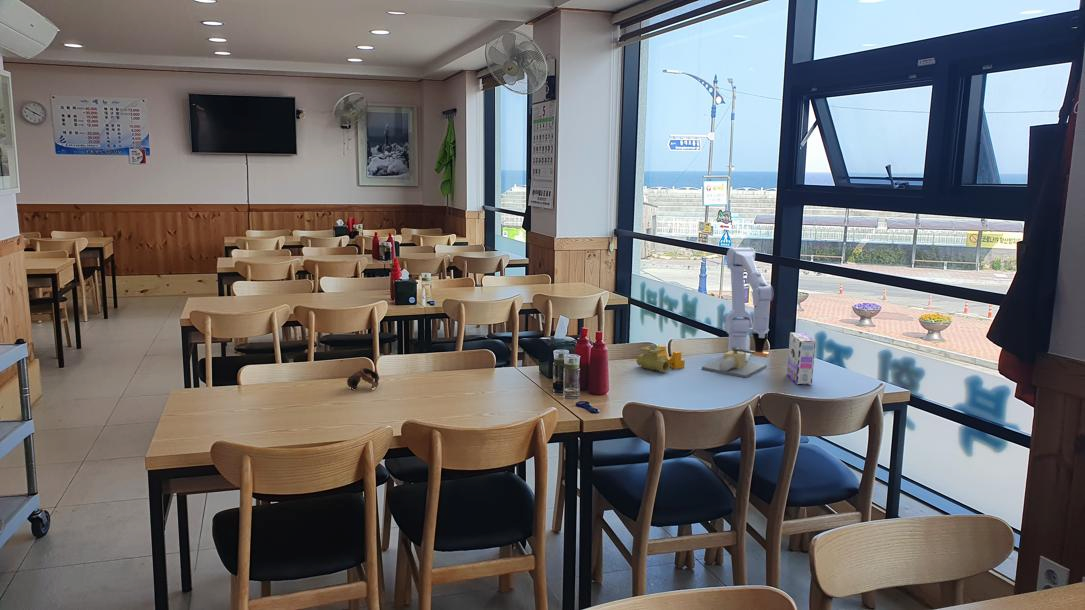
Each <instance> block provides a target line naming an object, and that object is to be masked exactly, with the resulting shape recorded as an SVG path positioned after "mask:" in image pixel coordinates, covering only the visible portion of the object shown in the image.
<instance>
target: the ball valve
mask: <svg viewBox="0 0 1085 610" xmlns="http://www.w3.org/2000/svg"><path fill="white" fill-rule="evenodd" d="M640 350H641V351H643V352H647V353H640V354H638V355H637V359H636V364H637V365H638V366H640V367H641V368H642V369H648V370H650V371H655V370H656V371H660V372H664V373H667V372H669V370H670V368H671V367H670V363H669V361H668V358H667V356H666V355H664V354H659V355H657V352H661V351H664V350H665V349H664V348H658V346H656V344H654V343H651V344H650V345H649V346H644V347H640Z"/></svg>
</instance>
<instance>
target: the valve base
mask: <svg viewBox="0 0 1085 610" xmlns="http://www.w3.org/2000/svg"><path fill="white" fill-rule="evenodd" d="M724 354H725V356H724V355H723V356H722V357H720V358H718V359H716V360H714V361H712V362H709V363H707V364H705V365H702V366H701V370H704V371H709V372H714V373H719V374H724V375H729V376H735V377H740V378H745V379H747V378H749V377H752V375H755V374H756V373H758V372H761V371H762V370H764V369H765V368H767V364H766V363H760V362H755V361H754V362H753V361H749V360H750V358H751V355H750V354H749V353H745V352H738V351H732V350H731V351H729V352H728V351H727V352H725V353H724Z"/></svg>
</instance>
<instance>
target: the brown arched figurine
mask: <svg viewBox="0 0 1085 610" xmlns="http://www.w3.org/2000/svg"><path fill="white" fill-rule="evenodd" d="M361 380H362V381H364V382H367V383H368V384H371V387H370V389H371V388H374V387H376V388H378V386H379V380H380V377H379V375H378V373H376V372H375V371H373V370H372V369H369V368H368V367H362V368H360V370H357V371H356V372H355V373H353V375H350V376H349V377H348V378H347V381H346V385H347V386H348V388H349V387H351V388H353V389H356V390H357V388H358V386H359V383H360V382H361Z"/></svg>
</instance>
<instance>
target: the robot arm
mask: <svg viewBox="0 0 1085 610" xmlns="http://www.w3.org/2000/svg"><path fill="white" fill-rule="evenodd" d="M755 251H756V250H755V249H754V248H753V247H729V249H728V250H727V252H726V265H727V266H726V267H727V269H729V270H730V279H731V280H730V281H731V283H730V285H731V286H730V287H731V304H732V305H731V306H732V308H731V309H732V310H731V311H730V312H729V313H728V314H726V316H725V323H724V328H725V332H726V333H727V334H728V347H727V352H729V351H731V350H732V347H737V348H740V349H746V350H751V349H750V347H751V337H750V334H752V337H753V340H754V347H755V351H763V350H764V347H765V344H766V341H767V340H768V337H769V336H768V335H769V333H768V332H769V331H770V329H769V326H770V325H769V323H770V311H771V310H770V309H771V302H772V301H773V299H774V295H775V294H774V288H773V286H772V285H770V284H769V283H767V282H766V279H765V278H764V275H763V273H762V272H761V271H758V268H757V266H756V262H755V261H756V260H755V259H756V252H755ZM745 271H746V274H747V275H748V277H747V281H748V283H749V285H750V288H751V289H752V292H751V297H752V305H753V307H754V308H753V319H752V315H751V313H749V312H748V311H747V310H746V305H745V304H746V301H745V281H744V280H745V279H744V278H745V277H744V272H745ZM738 352H739V351H738ZM763 352H764V351H763ZM749 354H750V353H749ZM724 356H725V353H724V354H723V357H724ZM750 356H752V354H750Z"/></svg>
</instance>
